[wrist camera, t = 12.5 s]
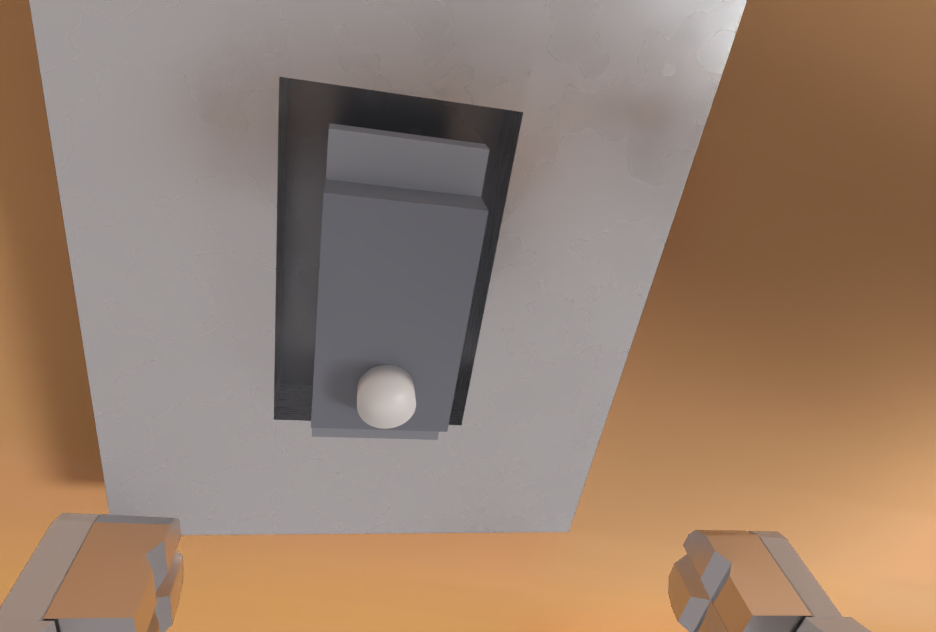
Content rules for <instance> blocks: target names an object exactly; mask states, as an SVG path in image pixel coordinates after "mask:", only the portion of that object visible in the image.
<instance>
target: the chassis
mask: <svg viewBox="0 0 936 632" xmlns="http://www.w3.org/2000/svg"><path fill="white" fill-rule="evenodd" d="M746 2H747V0H29V3H30V9H31V16H32V22H33V28H34V35H35V41H36V48H37V54H38V60H39V67H40V73H41V80H42V86H43V92H44V99H45V105H46V111H47V118H48V124H49V131H50V137H51V143H52V150H53V156H54V163H55V169H56V175H57V182H58V188H59V194H60V201H61V207H62V214H63V220H64V226H65V233H66V239H67V246H68V252H69V258H70V265H71V271H72V277H73V284H74V290H75V297H76V303H77V309H78V316H79V322H80V328H81V335H82V341H83V348H84V354H85V360H86V367H87V373H88V380H89V386H90V392H91V399H92V405H93V411H94V418H95V424H96V431H97V437H98V443H99V450H100V456H101V463H102V469H103V475H104V482H105V488H106V494H107V501H108V507H109V514H110V515H127V516H147V517H167V518H177V519H179V520H180V529H181V535H252V534H378V533H504V532H569V529H570V526H571V523H572V520H573V517H574V514H575V511H576V508H577V505H578V502H579V499H580V496H581V493H582V490H583V487H584V484H585V481H586V478H587V475H588V472H589V469H590V466H591V463H592V460H593V457H594V454H595V451H596V448H597V446H598V443H599V440H600V437H601V434H602V431H603V428H604V425H605V422H606V419H607V416H608V413H609V410H610V407H611V404H612V401H613V398H614V395H615V392H616V389H617V386H618V383H619V380H620V377H621V374H622V371H623V368H624V365H625V362H626V359H627V356H628V353H629V350H630V347H631V344H632V341H633V338H634V335H635V332H636V329H637V326H638V323H639V321H640V318H641V315H642V312H643V309H644V306H645V303H646V300H647V297H648V294H649V291H650V288H651V285H652V282H653V279H654V276H655V273H656V270H657V267H658V264H659V261H660V258H661V255H662V252H663V249H664V246H665V243H666V240H667V237H668V234H669V231H670V228H671V225H672V222H673V219H674V216H675V213H676V210H677V207H678V204H679V201H680V198H681V196H682V193H683V190H684V187H685V184H686V181H687V178H688V175H689V172H690V169H691V166H692V163H693V160H694V157H695V154H696V151H697V148H698V145H699V142H700V139H701V136H702V133H703V130H704V127H705V124H706V121H707V118H708V115H709V112H710V109H711V106H712V103H713V100H714V97H715V94H716V91H717V88H718V85H719V82H720V79H721V76H722V73H723V71H724V68H725V65H726V62H727V59H728V56H729V53H730V50H731V47H732V44H733V41H734V38H735V35H736V32H737V29H738V26H739V23H740V20H741V17H742V14H743V11H744V8H745V5H746ZM330 123H331V124H339V125H346V126H354V127H361V128H369V129H376V130H384V131H391V132H398V133H406V134H413V135H421V136H428V137H436V138H443V139H451V140H458V141H466V142H473V143H480V144H486V146H487V147H488V148H489V155H488V161H487V166H486V172H485V178H484V183H483V189H482V194H481V198H482V200H483V202H484V203H485V205H486V207H487V209H488V217H487V222H486V227H485V233H484V238H483V244H482V249H481V254H480V260H479V265H478V270H477V276H476V281H475V286H474V292H473V297H472V302H471V308H470V313H469V318H468V324H467V329H466V334H465V340H464V345H463V350H462V356H461V361H460V366H459V372H458V377H457V382H456V388H455V393H454V398H453V404H452V409H451V414H450V420H449V425H448V430H447V432H439V434H438V440H421V439H383V438H346V437H312V428H311V415H312V396H313V378H314V359H315V341H316V322H317V304H318V285H319V267H320V248H321V230H322V211H323V193H324V187H325V181H326V167H327V149H328V131H329V124H330Z"/></svg>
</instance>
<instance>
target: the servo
mask: <svg viewBox="0 0 936 632" xmlns="http://www.w3.org/2000/svg"><path fill="white" fill-rule="evenodd" d="M488 155H489V148H488V147H487V146H486V144H480V143H473V142H466V141H458V140H451V139H443V138H436V137H428V136H421V135H413V134H406V133H398V132H391V131H384V130H376V129H369V128H361V127H354V126H346V125H339V124H331V123H330V124H329V131H328V149H327V167H326V181H325V187H324V193H323V211H322V230H321V248H320V267H319V285H318V304H317V322H316V341H315V359H314V378H313V396H312V415H311V428H312V437H346V438H383V439H421V440H438V434H439V432H447V430H448V425H449V420H450V414H451V409H452V404H453V398H454V393H455V388H456V382H457V377H458V372H459V366H460V361H461V356H462V350H463V345H464V340H465V334H466V329H467V324H468V318H469V313H470V308H471V302H472V297H473V292H474V286H475V281H476V276H477V270H478V265H479V260H480V254H481V249H482V244H483V238H484V233H485V227H486V222H487V217H488V209H487V207H486V205H485V203H484V202H483V200H482V198H481V194H482V189H483V183H484V178H485V172H486V166H487V161H488Z"/></svg>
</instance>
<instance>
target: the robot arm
mask: <svg viewBox="0 0 936 632" xmlns="http://www.w3.org/2000/svg"><path fill="white" fill-rule="evenodd" d="M180 538H181V529H180V520H179V519H177V518H167V517H147V516H127V515H107V514H102V515H98V514H75V513H62V514H61V515H60V516H59V517H58V518H56V519H55V520H54V521H53V522H52V523H51V525H50V526H49V528H48V529H47V531H46V533H45V534H44V536H43V538H42V539H41V541H40V543H39V544H38V546H37V547H36V549H35V551H34V552H33V554H32V556H31V557H30V559H29V561H28V562H27V564H26V566H25V567H24V569H23V570H22V572H21V574H20V575H19V577H18V579H17V580H16V582H15V584H14V585H13V587H12V588H11V590H10V592H9V593H8V595H7V597H6V598H5V600H4V602H3V603H2V605H1V606H0V632H165V631H166V630H167V629H168V628H169V627H170V626H171V625H172V624H173V621H174V618H175V614H176V611H177V608H178V605H179V600H180V594H181V589H182V584H183V571H184V565H183V556H182V555H181V554H180V553H178V552H177V551H176V549H177V546H178V543H179V540H180ZM683 546H684V548H685V550H686V553H687V555H685V556H684V557H683V558H681V559H680V560H678V561H677V562H676V563H674V566H673V568H672V571H671V573H670V575H669V589H668V594H669V598H670V603H671V607H672V609H673V612H674V614H675V616H676V618H677V621H678V622H679V623H680V624H681V625H682V626H683V627H685V628H686V629H687V630H688V631H689V632H871V631H870V630H868V629H867V628H865V627H864V626H863V625H861V624H860V623H858V622H857V621H856V620H854V619H853V618H851V617H842V615H841V614H840V612H839V611H838V610H837V608H836V607H835V605H834V604H833V603H832V601H831V600H830V598H829V597H828V596H827V594H826V593H825V591H824V590H823V589H822V587H821V586H820V585H819V583H818V582H817V580H816V579H815V578H814V576H813V575H812V573H811V572H810V571H809V569H808V568H807V566H806V565H805V564H804V562H803V561H802V559H801V558H800V557H799V555H798V554H797V553H796V551H795V550H794V548H793V547H792V546H791V544H790V543H789V541H788V540H787V539H786V538H785V537H784V536H783V535H781V534H780V533H779V532H770V531H736V530H695V531H694V532H692V533H691V534H689V535H688V537H687V539H686V541H685V543H684V545H683Z"/></svg>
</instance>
